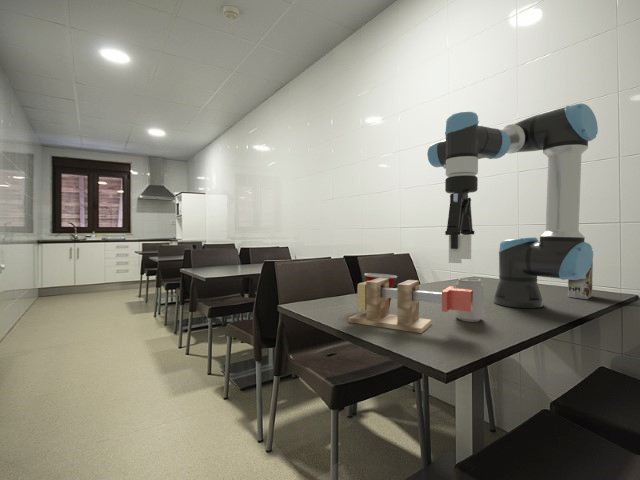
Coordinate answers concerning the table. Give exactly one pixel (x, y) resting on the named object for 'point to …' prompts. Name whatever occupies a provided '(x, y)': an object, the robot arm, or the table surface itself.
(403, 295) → the bearing stand
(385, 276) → the plastic cup
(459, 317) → the can
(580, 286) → the coffee box
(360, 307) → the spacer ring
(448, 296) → the shaft
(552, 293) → the table surface
